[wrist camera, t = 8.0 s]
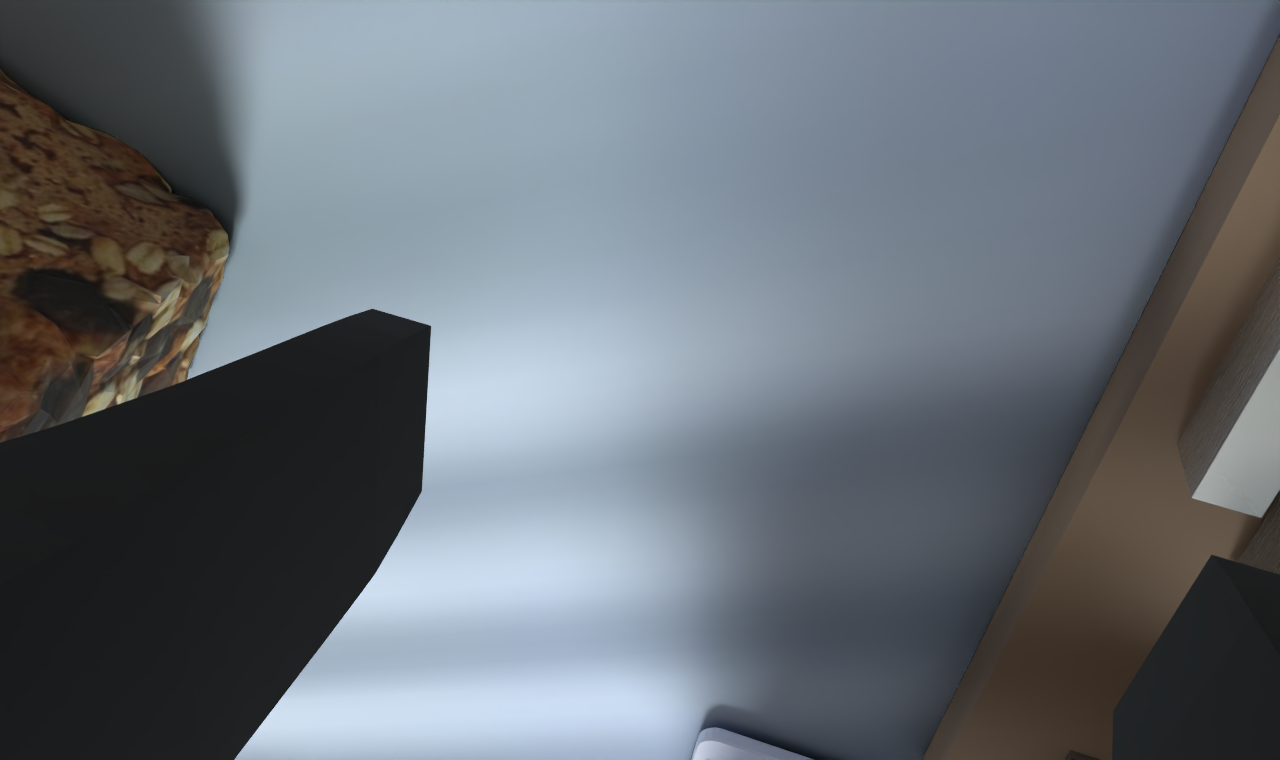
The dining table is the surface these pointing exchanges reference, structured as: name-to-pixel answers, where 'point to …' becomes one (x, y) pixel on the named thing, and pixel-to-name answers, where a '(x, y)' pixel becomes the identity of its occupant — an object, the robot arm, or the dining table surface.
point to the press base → (1146, 478)
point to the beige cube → (1265, 543)
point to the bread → (92, 270)
